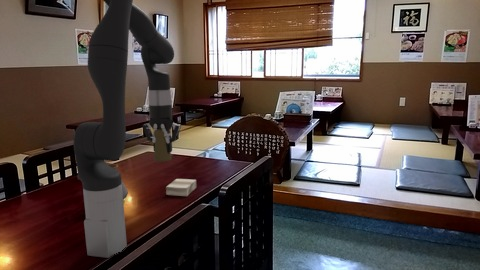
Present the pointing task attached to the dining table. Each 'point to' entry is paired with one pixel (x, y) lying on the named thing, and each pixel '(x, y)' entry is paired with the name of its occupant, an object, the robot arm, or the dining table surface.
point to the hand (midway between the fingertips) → (163, 153)
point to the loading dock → (181, 187)
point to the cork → (161, 147)
